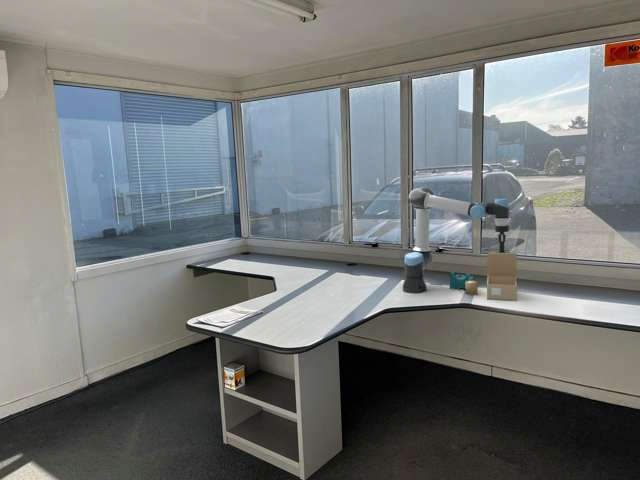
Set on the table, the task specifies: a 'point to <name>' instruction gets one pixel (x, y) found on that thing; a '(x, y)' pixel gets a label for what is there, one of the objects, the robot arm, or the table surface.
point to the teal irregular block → (459, 280)
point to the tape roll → (471, 287)
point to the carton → (501, 288)
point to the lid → (501, 264)
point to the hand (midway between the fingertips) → (501, 263)
